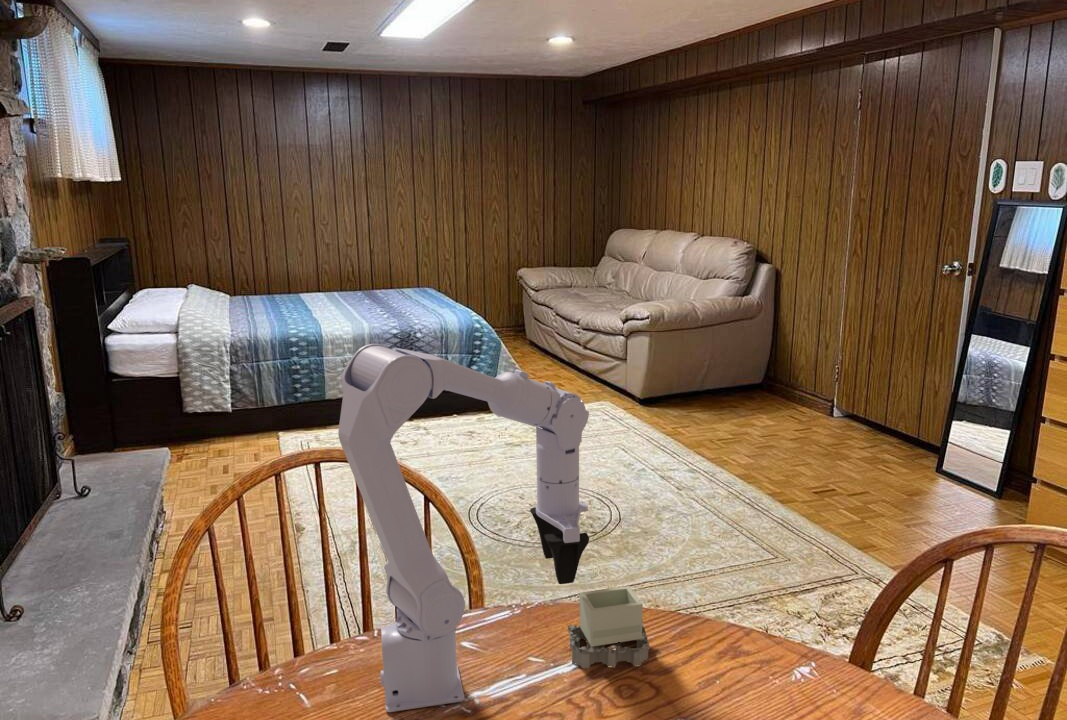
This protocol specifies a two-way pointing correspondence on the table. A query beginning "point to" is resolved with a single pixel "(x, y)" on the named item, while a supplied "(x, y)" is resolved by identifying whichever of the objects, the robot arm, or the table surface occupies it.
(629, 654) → the egg carton
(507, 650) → the table surface
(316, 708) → the table surface
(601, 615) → the box
